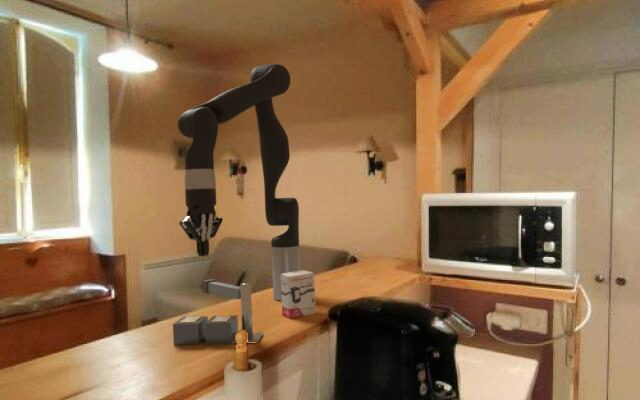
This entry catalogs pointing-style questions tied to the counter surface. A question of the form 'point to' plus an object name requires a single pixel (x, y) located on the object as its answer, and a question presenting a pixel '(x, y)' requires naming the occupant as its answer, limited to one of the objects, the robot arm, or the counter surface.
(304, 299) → the ink box
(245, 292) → the post
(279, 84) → the robot arm
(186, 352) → the counter surface
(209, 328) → the block
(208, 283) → the bar
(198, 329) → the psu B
